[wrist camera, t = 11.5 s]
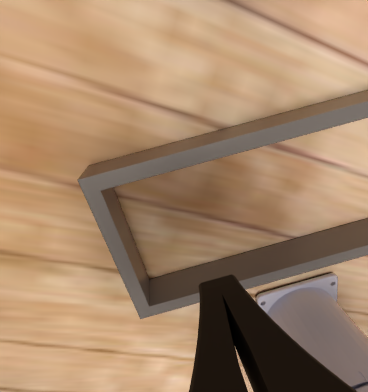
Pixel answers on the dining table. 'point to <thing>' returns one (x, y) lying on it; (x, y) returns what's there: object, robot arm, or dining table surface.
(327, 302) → the robot arm
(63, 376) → the dining table surface
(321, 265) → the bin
